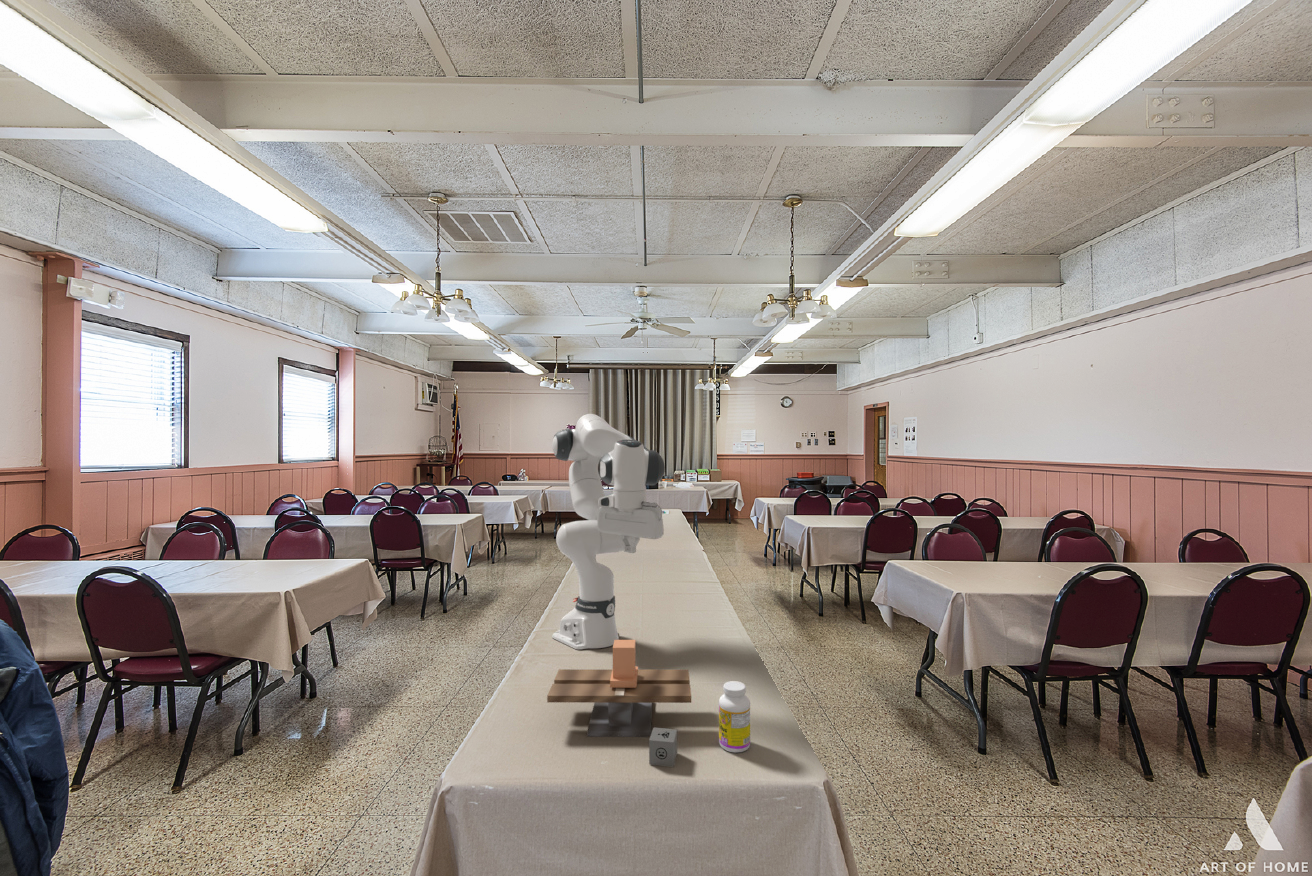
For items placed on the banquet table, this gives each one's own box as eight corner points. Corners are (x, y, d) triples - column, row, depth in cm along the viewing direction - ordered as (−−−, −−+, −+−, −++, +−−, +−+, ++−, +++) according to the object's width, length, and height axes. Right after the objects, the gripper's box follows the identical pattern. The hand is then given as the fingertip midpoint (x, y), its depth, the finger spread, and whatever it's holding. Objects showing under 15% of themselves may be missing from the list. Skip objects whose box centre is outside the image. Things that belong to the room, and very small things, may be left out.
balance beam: (546, 736, 124) (546, 696, 124) (559, 701, 140) (559, 667, 140) (691, 736, 124) (691, 697, 124) (688, 702, 140) (688, 667, 140)
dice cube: (673, 767, 113) (673, 742, 113) (649, 765, 114) (649, 740, 114) (677, 753, 118) (677, 729, 118) (653, 751, 119) (653, 727, 119)
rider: (610, 693, 128) (609, 650, 128) (613, 678, 136) (613, 637, 136) (636, 693, 128) (636, 650, 128) (638, 678, 136) (637, 637, 136)
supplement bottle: (716, 737, 124) (716, 679, 124) (746, 736, 124) (745, 678, 124) (722, 755, 117) (722, 693, 117) (753, 753, 118) (753, 691, 117)
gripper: (668, 502, 147) (668, 555, 147) (608, 497, 159) (608, 546, 159) (654, 504, 142) (654, 559, 142) (593, 499, 154) (593, 549, 154)
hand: (629, 552), depth 151 cm, fingers closed
